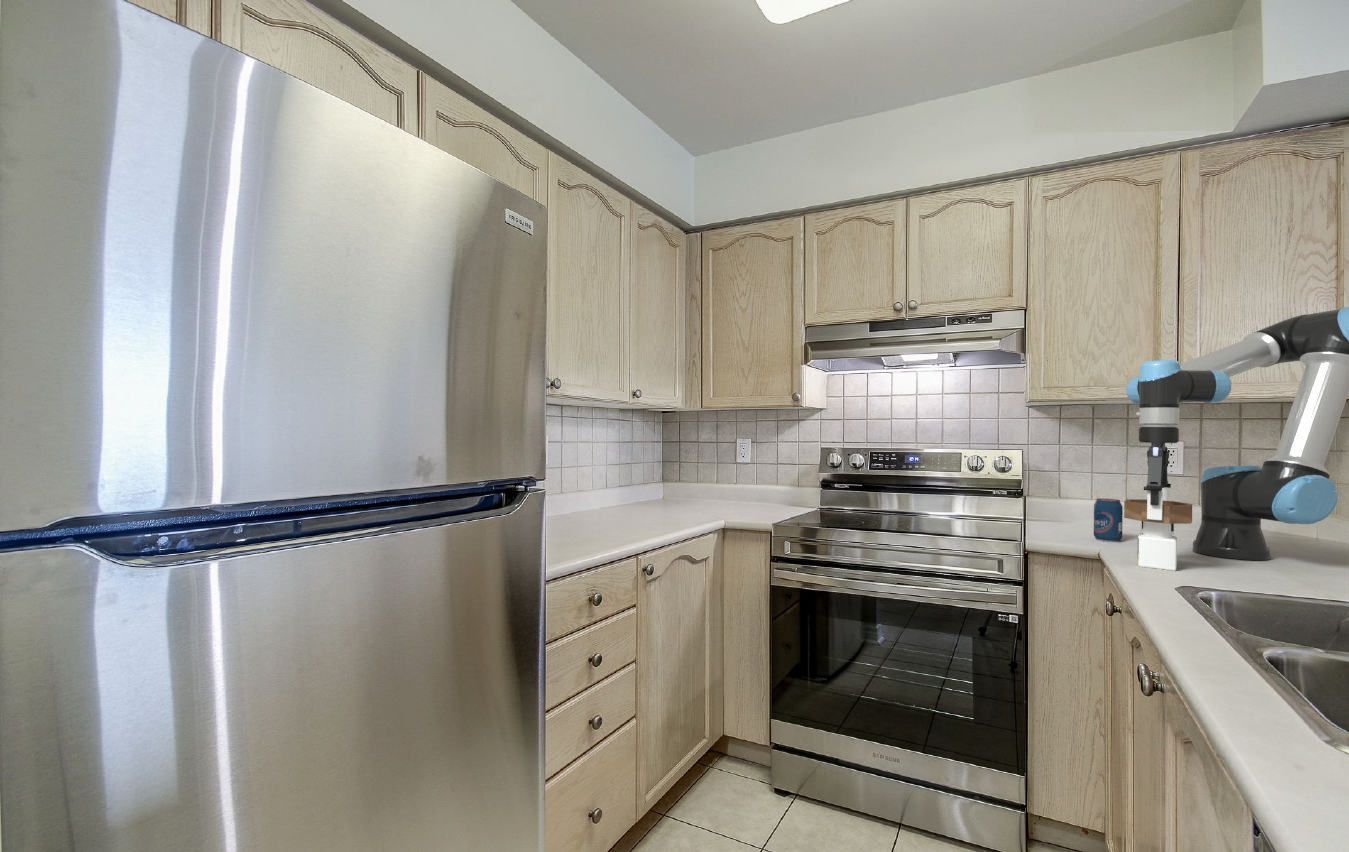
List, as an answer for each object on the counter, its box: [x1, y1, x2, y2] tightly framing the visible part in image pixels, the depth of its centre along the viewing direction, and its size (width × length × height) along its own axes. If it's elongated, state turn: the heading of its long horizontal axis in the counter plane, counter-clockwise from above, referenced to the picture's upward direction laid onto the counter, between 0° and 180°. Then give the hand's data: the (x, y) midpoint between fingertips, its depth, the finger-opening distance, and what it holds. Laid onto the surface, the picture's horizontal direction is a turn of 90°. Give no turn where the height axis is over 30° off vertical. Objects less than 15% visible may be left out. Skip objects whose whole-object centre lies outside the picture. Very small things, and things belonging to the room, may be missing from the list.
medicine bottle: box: [1137, 521, 1178, 572], centre depth 148 cm, size 7×7×12 cm
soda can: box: [1093, 497, 1124, 543], centre depth 184 cm, size 7×7×12 cm
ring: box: [1123, 498, 1193, 525], centre depth 148 cm, size 12×12×4 cm
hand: (1157, 517), depth 148 cm, fingers closed on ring, 12 cm apart
